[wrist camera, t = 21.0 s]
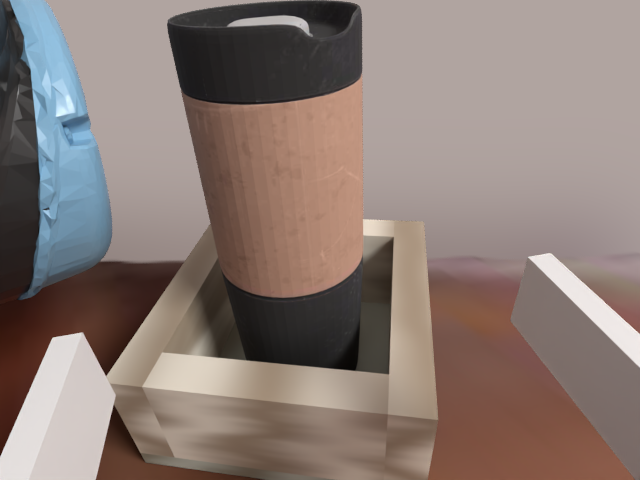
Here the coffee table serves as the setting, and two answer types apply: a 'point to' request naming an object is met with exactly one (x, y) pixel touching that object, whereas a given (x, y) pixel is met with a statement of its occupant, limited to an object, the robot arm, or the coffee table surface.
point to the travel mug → (281, 169)
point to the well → (287, 379)
